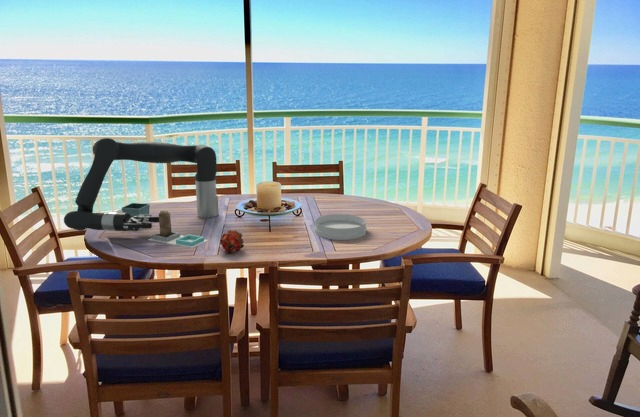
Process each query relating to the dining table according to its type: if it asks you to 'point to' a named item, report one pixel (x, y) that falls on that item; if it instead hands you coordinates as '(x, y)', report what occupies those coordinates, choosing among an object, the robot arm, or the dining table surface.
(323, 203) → the dining table surface
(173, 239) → the frame board
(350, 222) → the dish
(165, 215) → the jar
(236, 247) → the dragon fruit
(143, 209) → the flower pot
